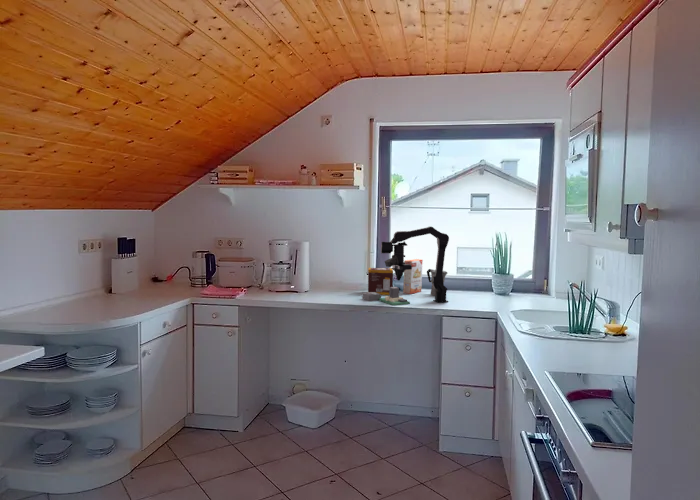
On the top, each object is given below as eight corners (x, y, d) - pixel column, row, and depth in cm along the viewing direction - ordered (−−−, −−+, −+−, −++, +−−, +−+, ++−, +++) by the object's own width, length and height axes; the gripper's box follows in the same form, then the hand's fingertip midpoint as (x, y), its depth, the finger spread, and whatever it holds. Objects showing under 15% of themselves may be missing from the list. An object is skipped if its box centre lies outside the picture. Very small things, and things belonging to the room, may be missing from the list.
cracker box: (411, 294, 314) (411, 261, 312) (402, 293, 318) (403, 260, 316) (422, 291, 325) (423, 259, 323) (413, 290, 329) (414, 258, 327)
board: (409, 304, 284) (409, 298, 283) (393, 305, 279) (393, 299, 279) (394, 299, 298) (394, 293, 298) (378, 300, 293) (378, 294, 293)
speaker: (380, 300, 294) (381, 293, 293) (368, 301, 290) (368, 294, 290) (374, 297, 301) (374, 291, 301) (362, 298, 297) (362, 292, 297)
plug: (398, 300, 287) (399, 287, 287) (391, 301, 285) (392, 288, 285) (395, 299, 291) (395, 286, 290) (388, 299, 289) (388, 287, 288)
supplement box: (367, 291, 322) (368, 267, 321) (392, 292, 321) (392, 267, 320) (367, 294, 312) (368, 269, 310) (392, 295, 311) (393, 270, 310)
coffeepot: (451, 295, 312) (452, 266, 310) (441, 297, 305) (442, 268, 303) (430, 292, 323) (431, 264, 321) (421, 294, 316) (422, 265, 315)
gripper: (378, 252, 294) (378, 279, 295) (395, 255, 277) (395, 283, 279) (394, 251, 299) (394, 277, 300) (412, 254, 282) (412, 282, 284)
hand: (398, 280), depth 290 cm, fingers closed
